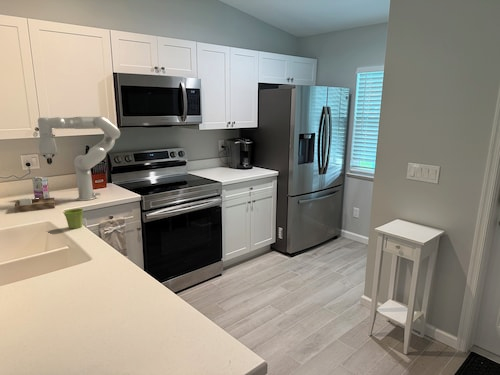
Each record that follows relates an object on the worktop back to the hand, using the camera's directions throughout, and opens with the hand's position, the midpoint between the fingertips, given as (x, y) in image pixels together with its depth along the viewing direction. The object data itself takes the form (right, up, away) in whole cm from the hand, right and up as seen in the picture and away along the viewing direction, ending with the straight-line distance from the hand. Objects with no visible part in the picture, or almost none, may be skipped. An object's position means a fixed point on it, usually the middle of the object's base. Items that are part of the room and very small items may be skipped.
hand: (49, 164), depth 230 cm
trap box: (-5, -29, -6) cm, 30 cm away
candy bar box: (-18, -24, +22) cm, 37 cm away
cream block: (-10, -26, -9) cm, 30 cm away
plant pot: (+45, -36, -54) cm, 79 cm away
